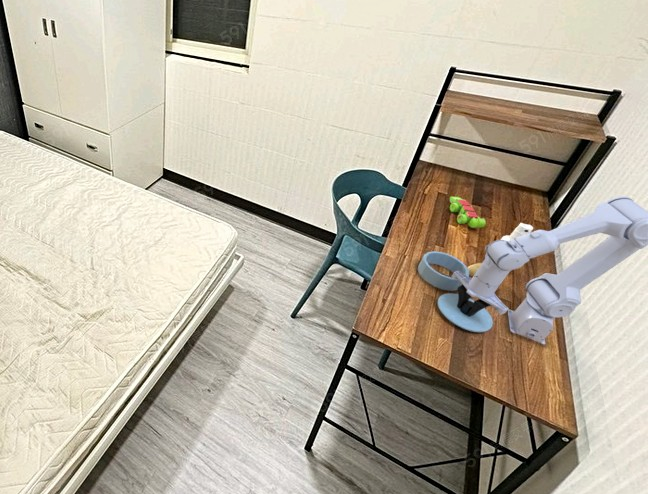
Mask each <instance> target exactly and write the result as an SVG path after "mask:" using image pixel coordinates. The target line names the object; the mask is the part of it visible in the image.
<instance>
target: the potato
mask: <svg viewBox="0 0 648 494" xmlns="http://www.w3.org/2000/svg"><path fill="white" fill-rule="evenodd" d="M482 263H483V262H477V263H473V264H470V265H468V266H466V267H467V268H468V270H469V277H471V278H473V276H474V275H475V273H476V272H477V270H478V269H479V267H480V266H481V264H482Z"/></svg>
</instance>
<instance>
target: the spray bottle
mask: <svg viewBox="0 0 648 494" xmlns="http://www.w3.org/2000/svg"><path fill="white" fill-rule="evenodd" d="M533 230H534V226H532V225H531V224H527V223H523V222H520V223H519V224H518V225H517V227H515V228H514V230H513V231H512V232H511V233H510V235H509V234H508V235H507V234H506V235H503V236H502V237H501V238H500V240H505V241H509V240H512V239H514V238H517V237H520V236H523V235H526V234H528V233H531V232H533Z"/></svg>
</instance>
